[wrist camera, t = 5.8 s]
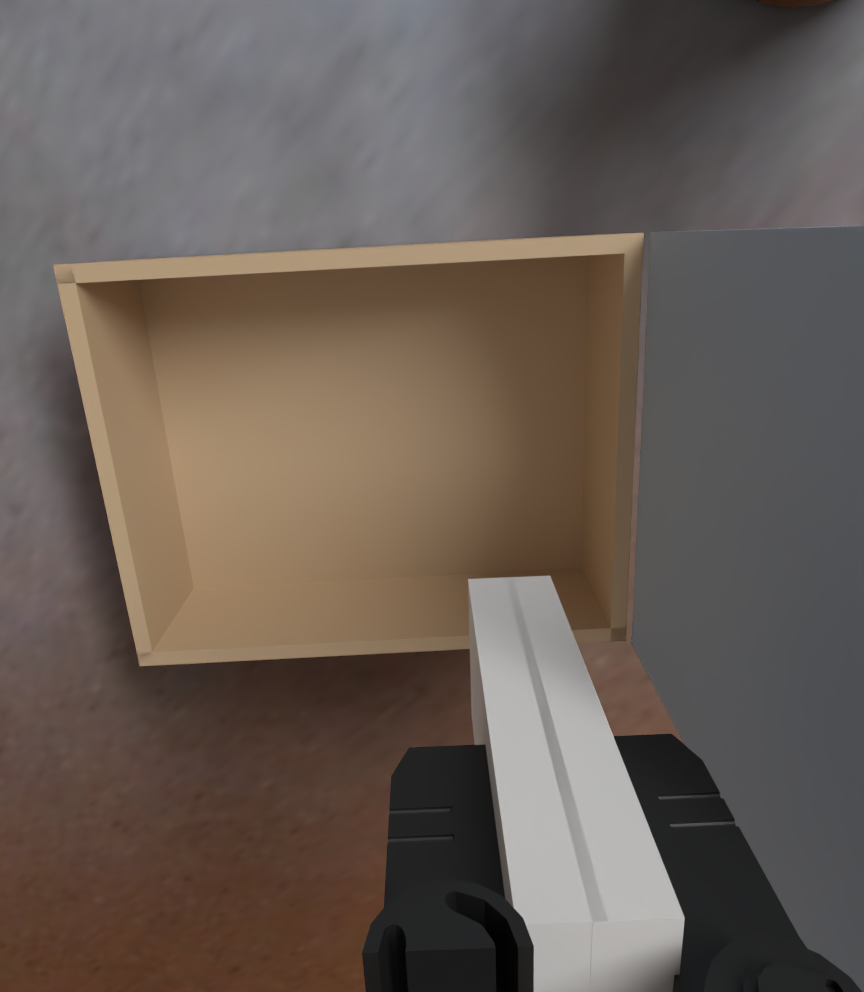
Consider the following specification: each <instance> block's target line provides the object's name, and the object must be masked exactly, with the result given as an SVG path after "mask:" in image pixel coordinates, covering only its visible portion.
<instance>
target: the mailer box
mask: <svg viewBox="0 0 864 992" xmlns="http://www.w3.org/2000/svg"><path fill="white" fill-rule="evenodd" d="M643 239H644V233H621V234H593V235H574V236H556V237H537V238H519V239H501V240H482V241H464V242H445V243H427V244H409V245H390V246H372V247H353V248H335V249H317V250H298V251H280V252H261V253H243V254H224V255H206V256H188V257H169V258H151V259H132V260H116V261H102V262H88V263H74V264H59V265H53V266H54V271H55V275H56V280H57V285H58V289H59V294H60V299H61V303H62V308H63V312H64V317H65V322H66V326H67V331H68V336H69V340H70V345H71V350H72V354H73V359H74V364H75V368H76V373H77V378H78V382H79V387H80V391H81V396H82V401H83V405H84V410H85V415H86V419H87V424H88V429H89V433H90V438H91V443H92V447H93V452H94V456H95V461H96V466H97V470H98V475H99V480H100V484H101V489H102V494H103V498H104V503H105V508H106V512H107V517H108V521H109V526H110V531H111V535H112V540H113V545H114V549H115V554H116V559H117V563H118V568H119V573H120V577H121V582H122V586H123V591H124V596H125V600H126V605H127V610H128V614H129V619H130V624H131V628H132V633H133V638H134V642H135V647H136V651H137V656H138V661H139V665H140V666H155V665H174V664H193V663H212V662H231V661H250V660H269V659H288V658H307V657H326V656H345V655H364V654H383V653H403V652H422V651H441V650H460V649H470V639H469V603H468V579H481V578H504V577H529V576H551V579H552V582H553V584H554V587H555V589H556V592H557V594H558V597H559V599H560V602H561V604H562V607H563V610H564V612H565V615H566V617H567V620H568V622H569V625H570V627H571V630H572V632H573V635H574V637H575V640H576V643H593V642H612V641H626V628H627V605H628V582H629V559H630V537H631V514H632V491H633V468H634V445H635V422H636V399H637V376H638V353H639V331H640V308H641V285H642V262H643Z"/></svg>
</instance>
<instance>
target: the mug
mask: <svg viewBox="0 0 864 992" xmlns="http://www.w3.org/2000/svg"><path fill="white" fill-rule="evenodd" d="M758 1H760V2H763V3H766V4H770V5H775V6H780V7H806V6H814V5H821V4H824V3H828V2H832V1H836V0H758Z"/></svg>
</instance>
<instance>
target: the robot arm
mask: <svg viewBox="0 0 864 992" xmlns="http://www.w3.org/2000/svg"><path fill="white" fill-rule="evenodd" d="M468 603H469V639H470V676H471V712H472V725H473V734H474V744H475V745H461V746H438V747H415V748H409V749H408V750H407V752H406V753H405V755H404V757H403V758H402V760H401V761H400V763H399V765H398V766H397V768H396V770H395V771H394V773H393V774H392V776H391V793H390V816H389V828H388V846H387V863H386V881H385V898H384V908H383V910H382V911H381V912H380V913H379V915H378V916H377V917H376V918H375V920H374V921H373V922H372V923H371V926H370V929H369V932H368V936H367V939H366V942H365V946H364V949H363V952H362V956H363V966H364V977H365V987H366V992H862V991H861V990H860V988H859V987H858V986H857V985H856V983H855V982H854V981H853V980H852V979H851V977H850V976H848V975H847V974H846V973H844V972H843V971H842V970H840V969H839V968H838V967H836V966H835V965H834V964H832V963H831V962H830V961H828V960H827V959H826V958H824V957H823V956H822V955H820V954H818V953H816V952H814V951H811V950H809V949H808V948H807V947H806V946H805V944H804V943H803V941H802V940H801V938H800V937H799V935H798V933H797V932H796V930H795V928H794V926H793V924H792V923H791V921H790V919H789V917H788V915H787V913H786V912H785V910H784V908H783V906H782V904H781V902H780V901H779V899H778V897H777V895H776V893H775V892H774V890H773V888H772V886H771V884H770V882H769V881H768V879H767V877H766V875H765V873H764V871H763V870H762V868H761V866H760V864H759V862H758V861H757V859H756V857H755V855H754V853H753V851H752V850H751V848H750V846H749V844H748V842H747V840H746V839H745V837H744V835H743V833H742V831H741V830H740V828H739V826H736V825H735V819H734V817H733V815H732V813H731V811H730V809H729V808H728V806H727V804H726V802H725V800H724V799H723V798H721V797H720V791H719V789H718V788H717V786H716V784H715V782H714V780H713V779H712V777H711V775H710V773H709V771H708V769H707V768H706V766H705V764H704V762H703V760H702V759H701V758H699V757H698V756H697V755H696V754H695V753H694V752H692V751H691V750H690V749H689V748H688V747H687V746H685V745H684V744H683V743H682V742H681V741H679V740H678V739H677V738H676V737H675V736H674V735H672V734H656V735H633V736H613V734H612V732H611V729H610V726H609V724H608V721H607V719H606V716H605V714H604V711H603V709H602V706H601V704H600V701H599V699H598V696H597V693H596V691H595V688H594V686H593V683H592V681H591V678H590V676H589V673H588V671H587V668H586V665H585V663H584V660H583V658H582V655H581V653H580V650H579V648H578V645H577V643H576V640H575V637H574V635H573V632H572V630H571V627H570V625H569V622H568V620H567V617H566V615H565V612H564V610H563V607H562V604H561V602H560V599H559V597H558V594H557V592H556V589H555V587H554V584H553V582H552V579H551V576H529V577H504V578H481V579H468Z"/></svg>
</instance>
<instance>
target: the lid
mask: <svg viewBox="0 0 864 992" xmlns="http://www.w3.org/2000/svg"><path fill="white" fill-rule="evenodd" d="M631 644H632V646H633V648H634V649H635V651H636V653H637V655H638V657H639V659H640V661H641V663H642V665H643V667H644V668H645V670H646V672H647V674H648V676H649V678H650V680H651V682H652V684H653V685H654V687H655V689H656V691H657V693H658V695H659V697H660V699H661V701H662V703H663V704H664V706H665V708H666V710H667V712H668V714H669V716H670V718H671V720H672V721H673V723H674V725H675V727H676V729H677V731H678V733H679V735H680V737H681V739H682V740H683V742H684V744H685V746H687V747H688V748H689V749H690V750H691V751H692V752H694V753H695V754H696V755H697V756H698V757H699V758H701V759H702V760H703V762H704V764H705V766H706V768H707V769H708V771H709V773H710V775H711V777H712V779H713V780H714V782H715V784H716V786H717V788H718V789H719V791H720V797H721V798H723V799H724V800H725V802H726V804H727V806H728V808H729V809H730V811H731V813H732V815H733V817H734V819H735V825H736V826H739V828H740V830H741V831H742V833H743V835H744V837H745V839H746V840H747V842H748V844H749V846H750V848H751V850H752V851H753V853H754V855H755V857H756V859H757V861H758V862H759V864H760V866H761V868H762V870H763V871H764V873H765V875H766V877H767V879H768V881H769V882H770V884H771V886H772V888H773V890H774V892H775V893H776V895H777V897H778V899H779V901H780V902H781V904H782V906H783V908H784V910H785V912H786V913H787V915H788V917H789V919H790V921H791V923H792V924H793V926H794V928H795V930H796V932H797V933H798V935H799V937H800V938H801V940H802V941H803V943H804V944H805V946H806V947H807V948H808V949H809V950H811V951H814V952H816V953H818V954H820V955H822V956H823V957H824V958H826V959H827V960H828V961H830V962H831V963H832V964H834V965H835V966H836V967H838V968H839V969H840V970H842V971H843V972H844V973H846V974H847V975H848V976H850V977H851V979H852V980H853V981H854V982H855V983H856V985H857V986H858V987H859V988H860V990H861V991H862V992H864V226H836V227H804V228H771V229H738V230H705V231H673V232H651V236H650V258H649V279H648V300H647V322H646V343H645V365H644V386H643V408H642V429H641V450H640V472H639V493H638V515H637V536H636V557H635V579H634V600H633V622H632V643H631Z"/></svg>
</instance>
